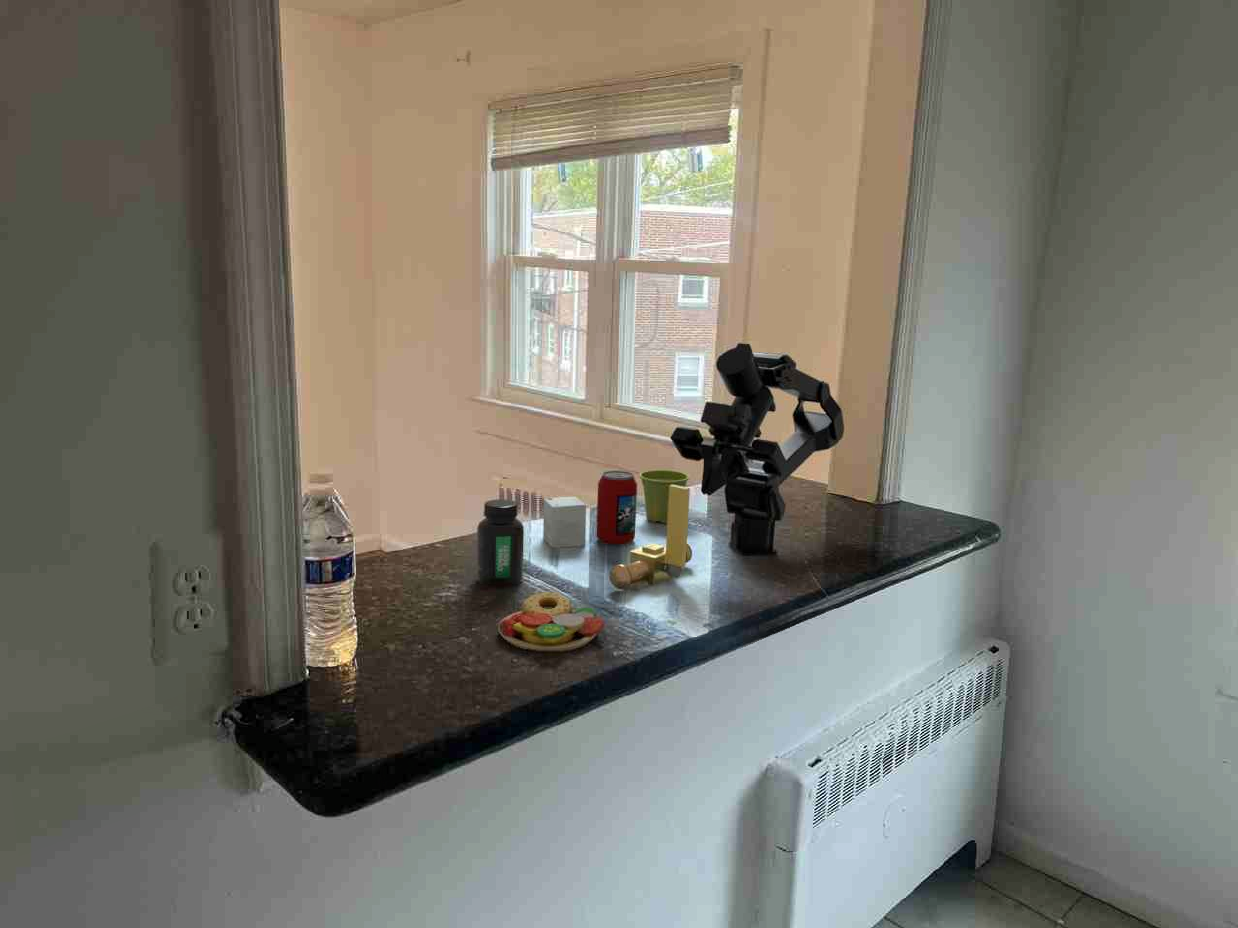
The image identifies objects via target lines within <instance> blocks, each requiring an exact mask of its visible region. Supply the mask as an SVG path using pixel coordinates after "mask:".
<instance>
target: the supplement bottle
mask: <svg viewBox="0 0 1238 928" xmlns="http://www.w3.org/2000/svg"><path fill="white" fill-rule="evenodd" d="M483 506H484V507H483V509H484V511H483V516H484V517H485V518H483V519H481V520H480V521H479V522H478V525H477V526H476V527H477V528H476V529H477V531H476V535H477V536H476V541H477V542H476V578H477V579H476V580H477V581H478V582H479V584H481V585H483V586H486V587H489V588H510V587H513V586H516V585H518V584H520V583H521V582H522V581H523V578H524V535H525V533H524V530H525V529H524V525H523V522H522V521H520V520H519V519H518V518H517V517H518V503H517V502H516V501H515V500H511V499H503V498H502V499H491V500H487V501H485V502H484V504H483Z"/></svg>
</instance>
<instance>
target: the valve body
mask: <svg viewBox="0 0 1238 928" xmlns="http://www.w3.org/2000/svg"><path fill="white" fill-rule="evenodd" d="M692 557H693V550H692V548H691V546H690V544H688V543H687V547H686V564H687V563H689V562H690V561H691V560H692ZM665 558H666V546H662V545H659V544H656V543H655V544H654V543H650V544H646V545H644V546H641V547H638V548H636V549H633V550H630V551H629V563H628V564H619V563H618V564H616V565H614V566H612V567H611V568H610V570H609V582H610V583H611V584H612V586H614V588H616V589H618V590H624V589H629V590H632V591H633V590H634V591H637V592H639V591H641V590H644V589H646V588H648V586H653V587H654V586H657V585H658V584H661V583H664V582H666V581H669V580H671V579H673V577H670V576H668V567H669V565H670V564H668V563H665ZM684 572H686V565H685V566H683V567H682V573H684Z"/></svg>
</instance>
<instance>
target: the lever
mask: <svg viewBox="0 0 1238 928" xmlns="http://www.w3.org/2000/svg"><path fill="white" fill-rule="evenodd" d="M690 491H691V489H690V487H687V486H685V487H682V486H677V485H670V486H669V500H668V519H667V523H666V540H665V541H666V542H665V547H666V558H665V563H668V564H670V565H669V567H668V576H670V577H673V578H674V579H679V578H681V576H682V573H683V572H682V567H683V566H685V567H686V565H687V563H686V547H687V544H688V525H689V510H690V509H689V508H690ZM673 578H672V579H673Z"/></svg>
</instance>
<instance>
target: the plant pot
mask: <svg viewBox="0 0 1238 928" xmlns="http://www.w3.org/2000/svg"><path fill="white" fill-rule="evenodd" d="M639 479H641V484H642V486H643V494H644V495H643V496H644V503H645V504H644V505H645V516H646V520H648V521H649V522H652V523H656V522H661V523H663V524H667V519H668V500H669V486H670V485H677V486H682V487H687V486H686V485H687V482H688V481H689V480H690V476H689V474H687V473H684V472H681V471H678V470H671V469H670V470H667V469H665V470H664V469H655V470H654V469H653V470H646V471H643V472H640V473H639Z"/></svg>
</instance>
